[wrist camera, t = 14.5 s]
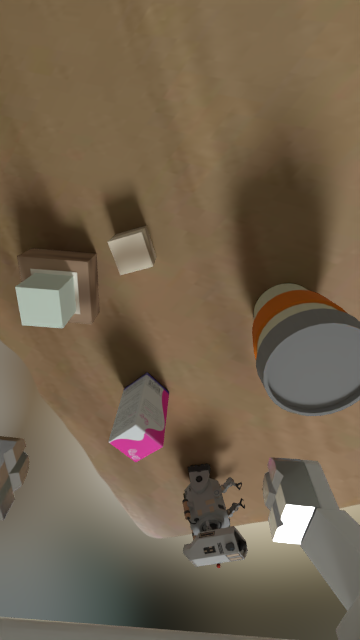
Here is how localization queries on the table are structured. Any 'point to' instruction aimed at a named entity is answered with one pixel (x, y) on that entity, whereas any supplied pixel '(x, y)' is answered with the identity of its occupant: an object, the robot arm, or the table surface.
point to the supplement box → (140, 418)
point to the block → (132, 250)
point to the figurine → (211, 520)
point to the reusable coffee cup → (306, 351)
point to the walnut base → (69, 265)
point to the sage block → (46, 300)
